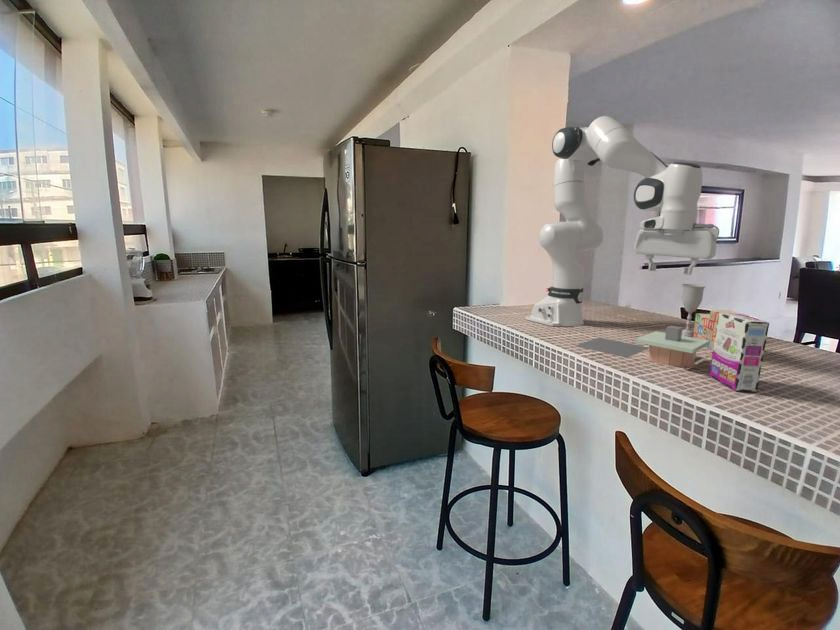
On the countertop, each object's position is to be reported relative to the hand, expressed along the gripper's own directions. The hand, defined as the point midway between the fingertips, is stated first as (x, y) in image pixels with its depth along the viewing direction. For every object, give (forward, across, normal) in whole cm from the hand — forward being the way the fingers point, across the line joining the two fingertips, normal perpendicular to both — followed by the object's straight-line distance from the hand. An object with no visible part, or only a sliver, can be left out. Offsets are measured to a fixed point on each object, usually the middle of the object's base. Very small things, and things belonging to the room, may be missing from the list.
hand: (669, 272), depth 121 cm
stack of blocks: (+25, -10, -20) cm, 34 cm away
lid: (+18, -6, +7) cm, 20 cm away
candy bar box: (+24, -22, +14) cm, 35 cm away
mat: (+25, +11, +6) cm, 28 cm away
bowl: (+24, -6, +7) cm, 26 cm away
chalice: (+25, +1, -29) cm, 39 cm away
